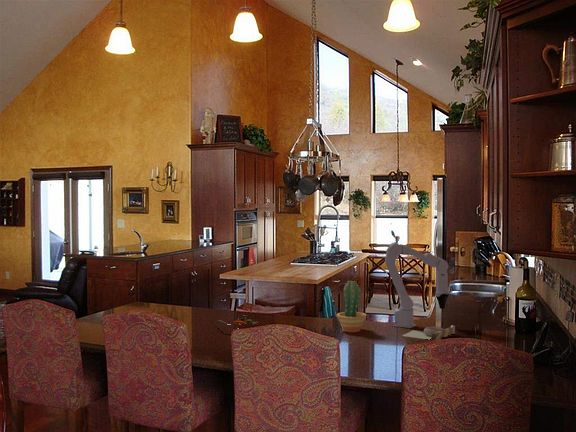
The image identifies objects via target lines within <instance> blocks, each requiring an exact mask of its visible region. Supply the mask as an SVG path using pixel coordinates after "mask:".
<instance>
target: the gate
mask: <svg viewBox="0 0 576 432" xmlns="http://www.w3.org/2000/svg"><path fill="white" fill-rule="evenodd" d="M443 329H444V330H441V331H438V332H435V333H432V339H431V341H432V340H435V339H438V340H441V339H443V338H442V337H444V338H447V337H449V336H452V335H451V334H453V327H451V326H450V327H448V328H443ZM448 335H449V336H448Z"/></svg>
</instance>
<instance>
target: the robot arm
mask: <svg viewBox="0 0 576 432" xmlns="http://www.w3.org/2000/svg"><path fill="white" fill-rule="evenodd" d="M406 254H407V255H410V256H413V257H415V258H418V259H420V260H421V262H422V264H425V265H427V266H429V267H432V268H435V269H436V274H435V280H436V281H435V285H436V286H435V287H436V288H435V289H436V290H435V293H434V295H435V298H436V300H437V303H438V307H439V309H440V310H444V309H445V308H446V305H447V300H448V298H449V296H450V295H449V294H450V293H451V291H450V290H449V287H448V285H449V284H448V283H449V281H448V278H449V277H448V275H449V274H448V270H449V267H450V265H449V263H448V261H447V260H445V259H443V258H441V257H440V256H436V255H433V253H431V252H426V253H422V252H421V251H418V250H416V249H414V248H412V247H411V246H408V245H405V244H399V243H397V242H391V243H390V244H389V245H388V247H387V249H386V253H385V258H384V263H385V266H386V268H387V270H388V273H389V275H390V277H391V280H392V283H393V285H394V289H395V290H396V292H397V295H398V297H399V300H398V301H399V305H400V306H399V308H395V309H394V314H393V315H394V317H393V318H394V321H393V322H394V323H393V327H398V328H399V327H400V328H408V329H411V328H414V327H417V324H415V323H414V322H415V321H414V301H413V300H412V299H411V297H410V295H409V294H408V292H407V290H406V287H405V285H404V282H403V280H402V278H401V276H400V273H399V270H398V267H397V265H396V261H397V259H398V257H399V256H400V255H406Z"/></svg>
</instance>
